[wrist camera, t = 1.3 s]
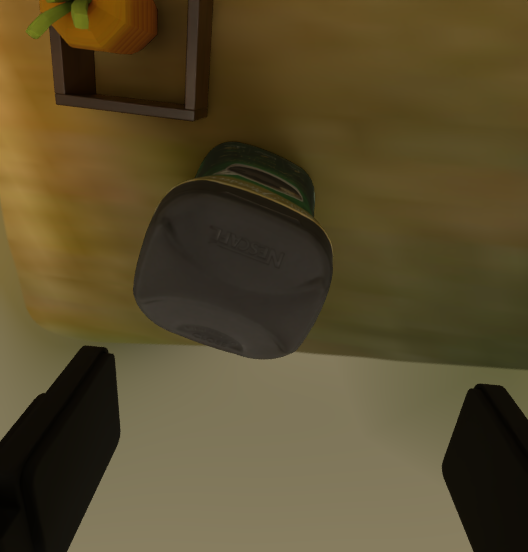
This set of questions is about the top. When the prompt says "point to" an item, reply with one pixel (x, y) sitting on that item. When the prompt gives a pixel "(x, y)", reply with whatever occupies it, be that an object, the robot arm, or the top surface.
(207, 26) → the pen box
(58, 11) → the carrot
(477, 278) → the top surface
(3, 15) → the top surface
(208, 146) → the top surface
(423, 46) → the top surface
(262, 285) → the coffee jar
